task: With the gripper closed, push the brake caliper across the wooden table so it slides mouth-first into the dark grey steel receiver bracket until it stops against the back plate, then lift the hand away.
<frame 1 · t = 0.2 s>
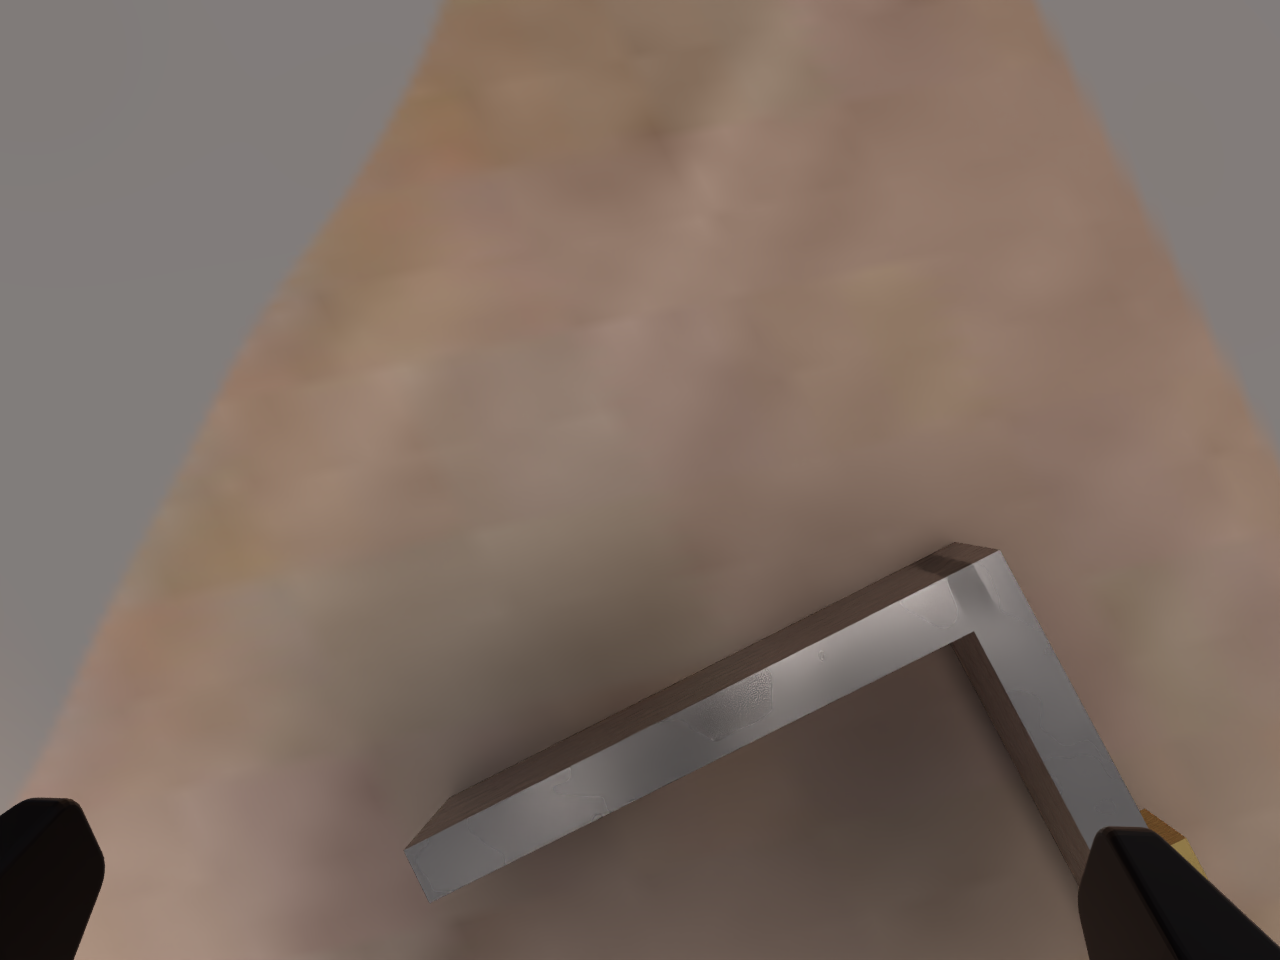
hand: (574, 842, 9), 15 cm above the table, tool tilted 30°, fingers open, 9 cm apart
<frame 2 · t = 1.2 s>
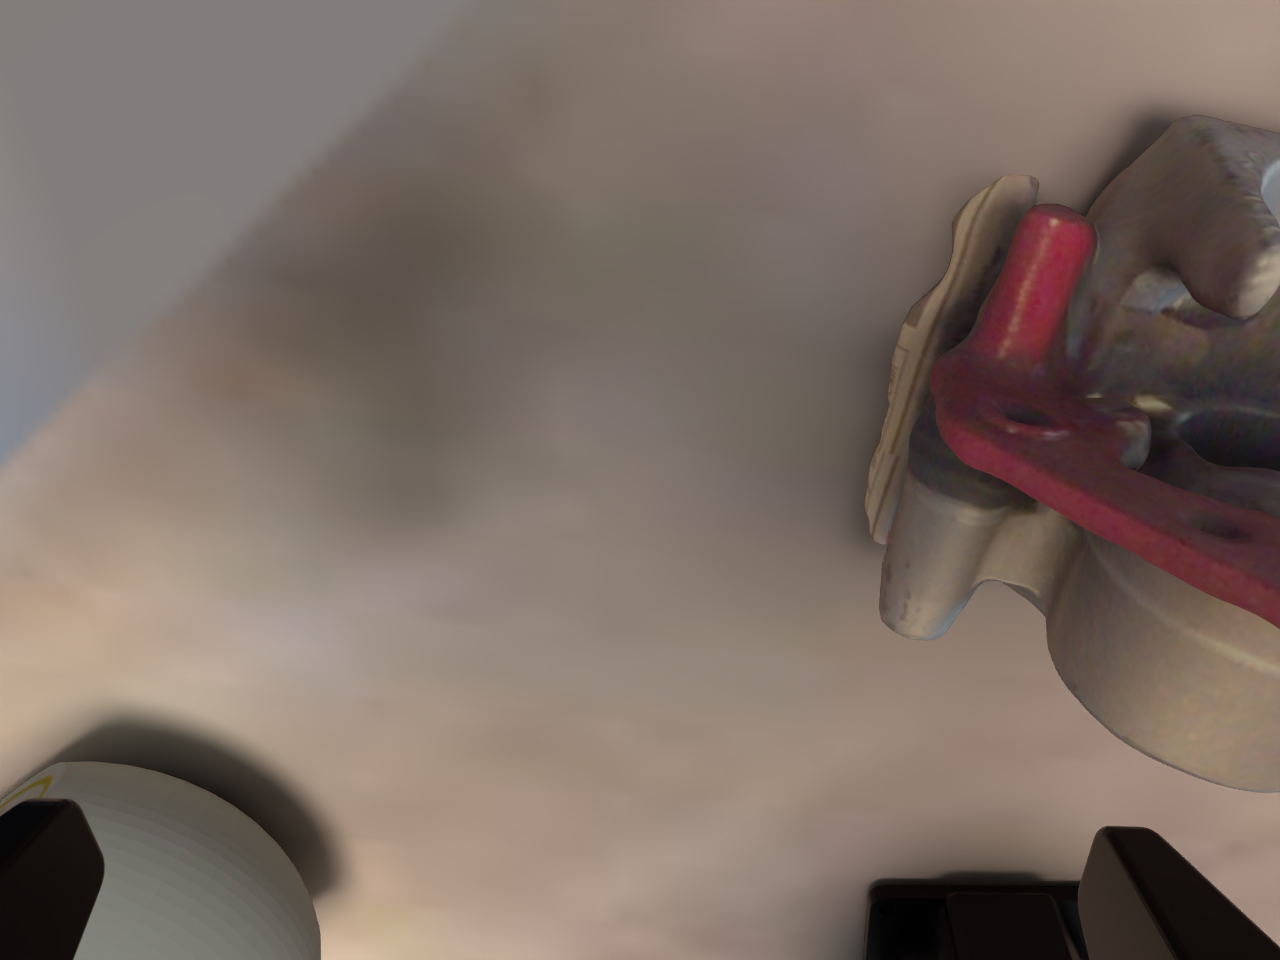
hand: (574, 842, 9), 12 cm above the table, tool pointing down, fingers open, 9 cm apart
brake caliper: (1162, 376, 19), on the table
air freshener: (166, 842, 28), on the table
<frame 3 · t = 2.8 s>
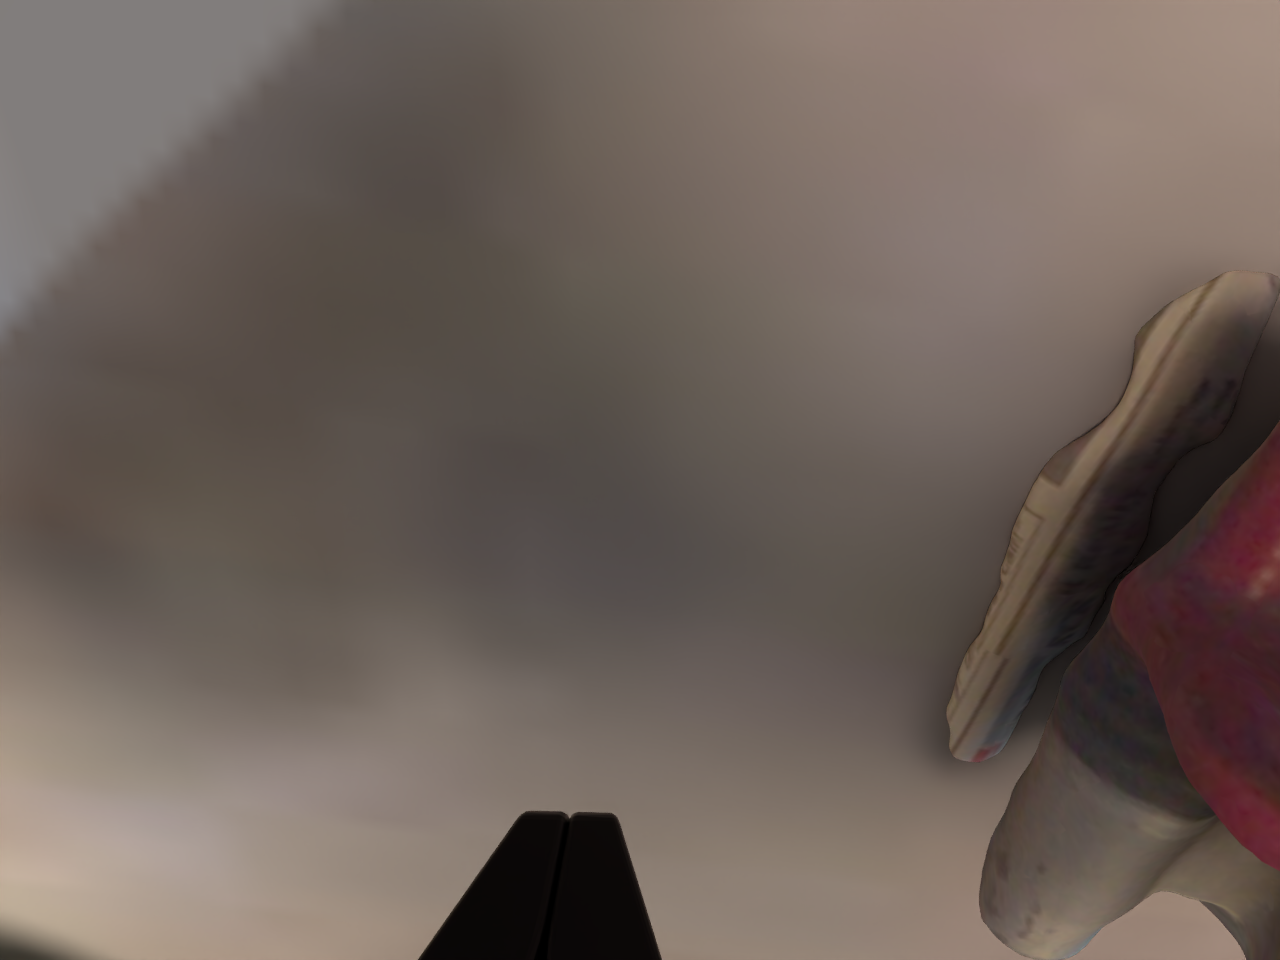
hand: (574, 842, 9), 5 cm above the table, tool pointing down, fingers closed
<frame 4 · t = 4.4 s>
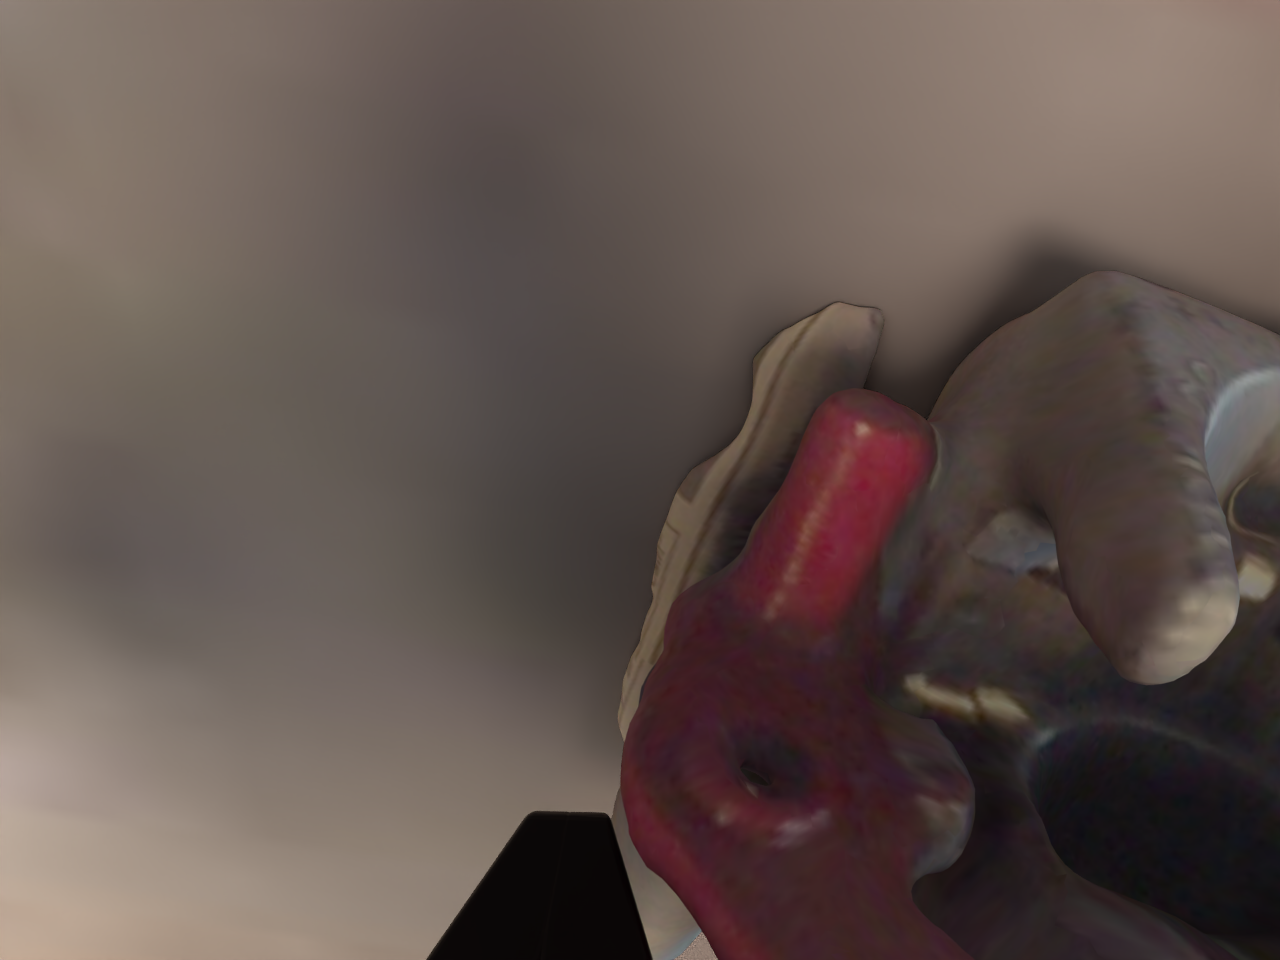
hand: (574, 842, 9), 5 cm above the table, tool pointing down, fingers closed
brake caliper: (1038, 602, 13), on the table, touching gripper
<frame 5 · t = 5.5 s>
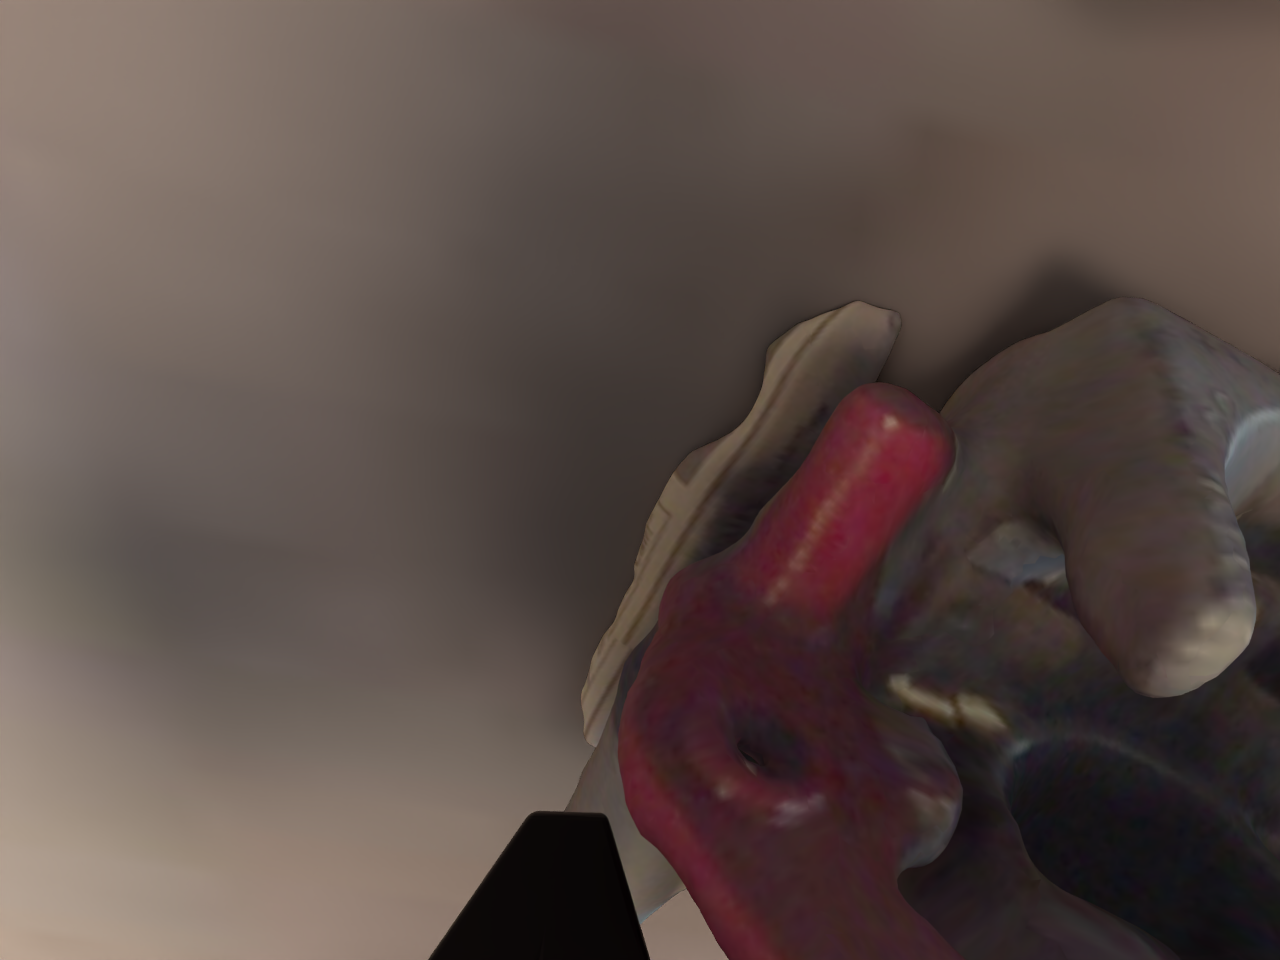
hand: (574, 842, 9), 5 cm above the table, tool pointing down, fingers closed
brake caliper: (1009, 620, 14), on the table, touching gripper
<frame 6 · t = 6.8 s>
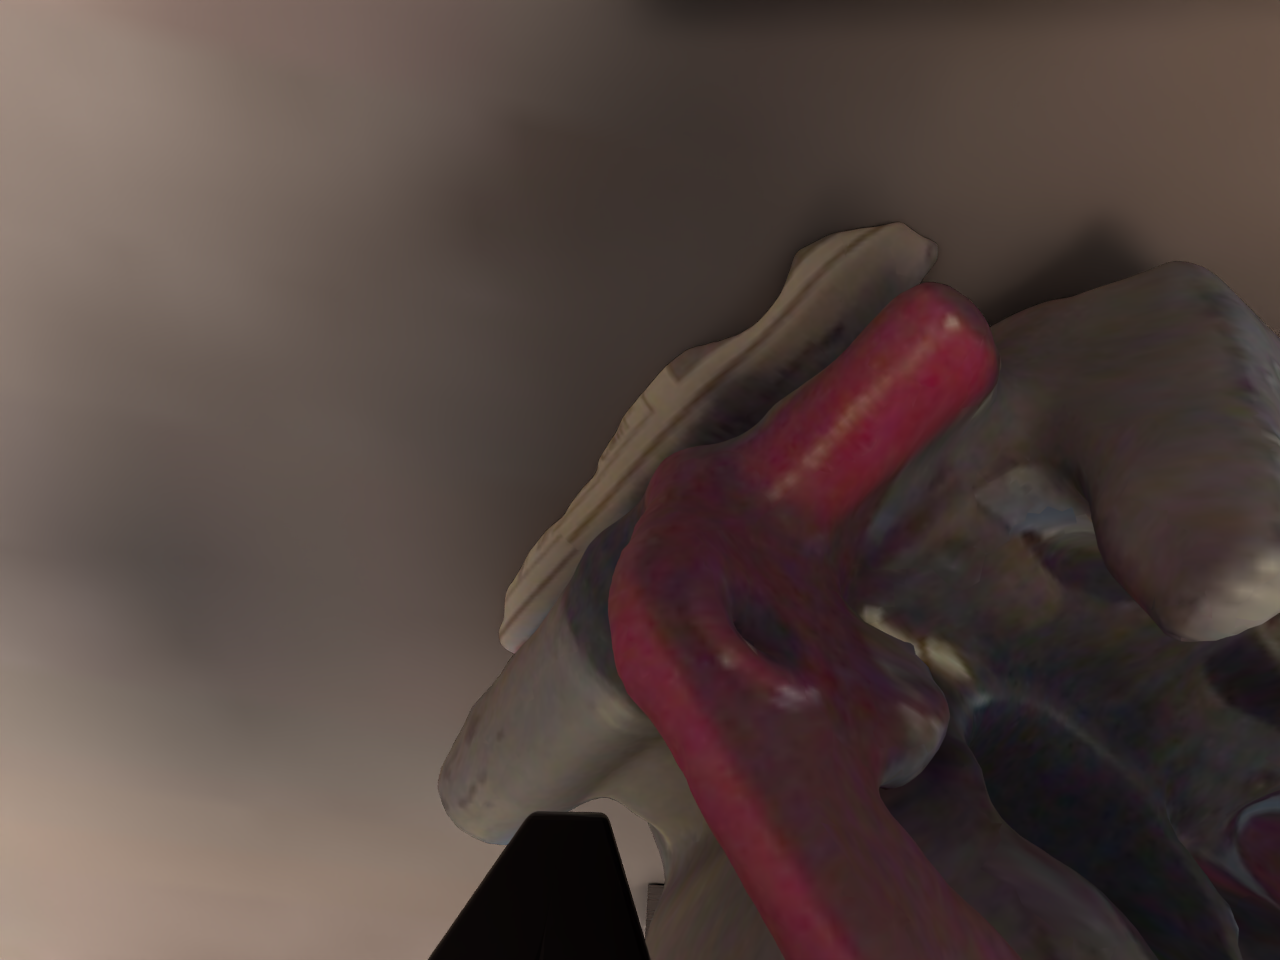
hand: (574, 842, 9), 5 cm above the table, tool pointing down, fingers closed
receiver: (1136, 552, 13), on the table
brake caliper: (956, 593, 13), on the table, touching gripper, receiver
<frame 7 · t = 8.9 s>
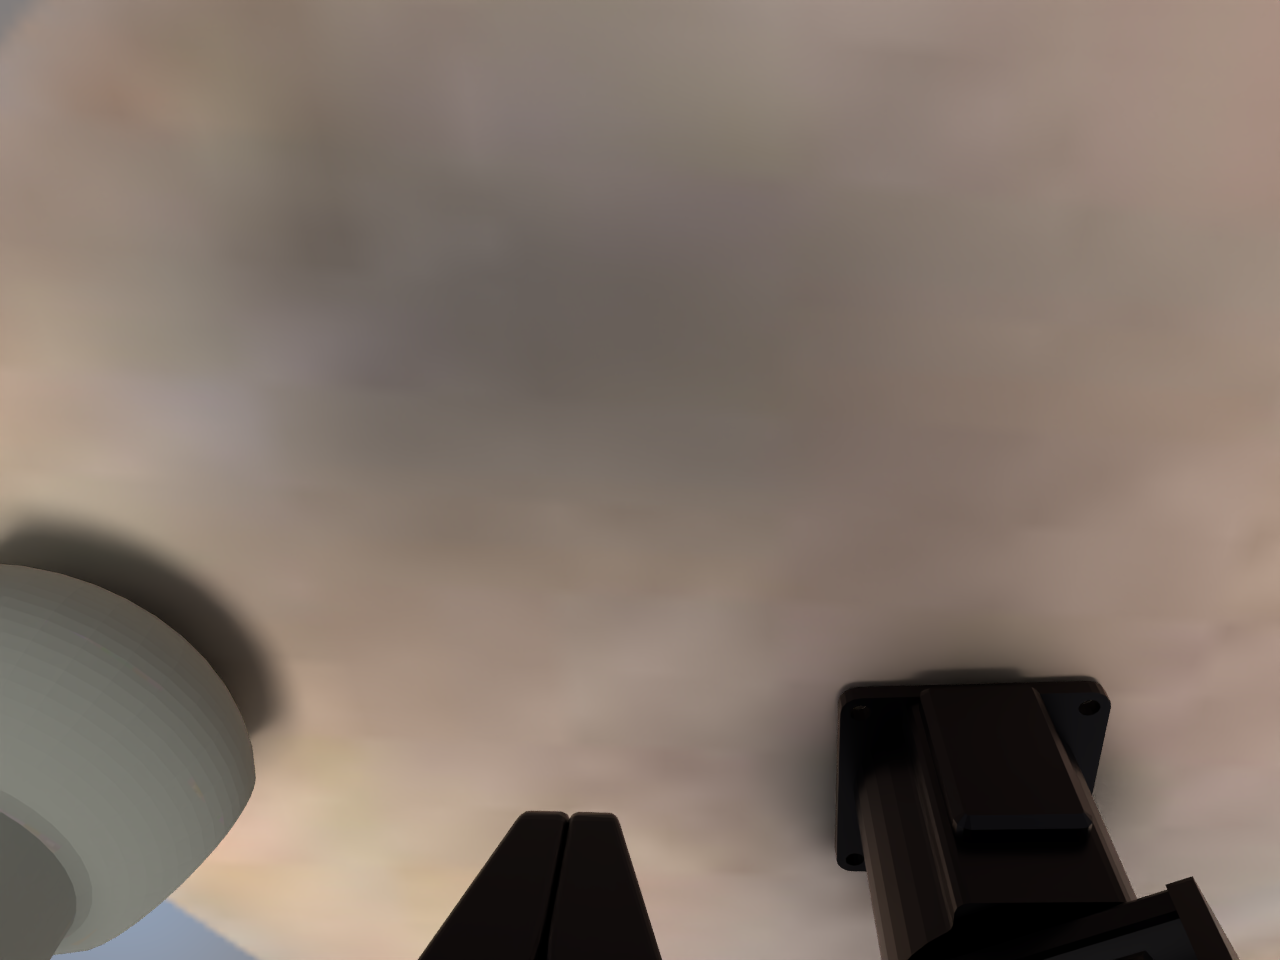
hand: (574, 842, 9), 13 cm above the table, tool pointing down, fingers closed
air freshener: (93, 674, 26), on the table
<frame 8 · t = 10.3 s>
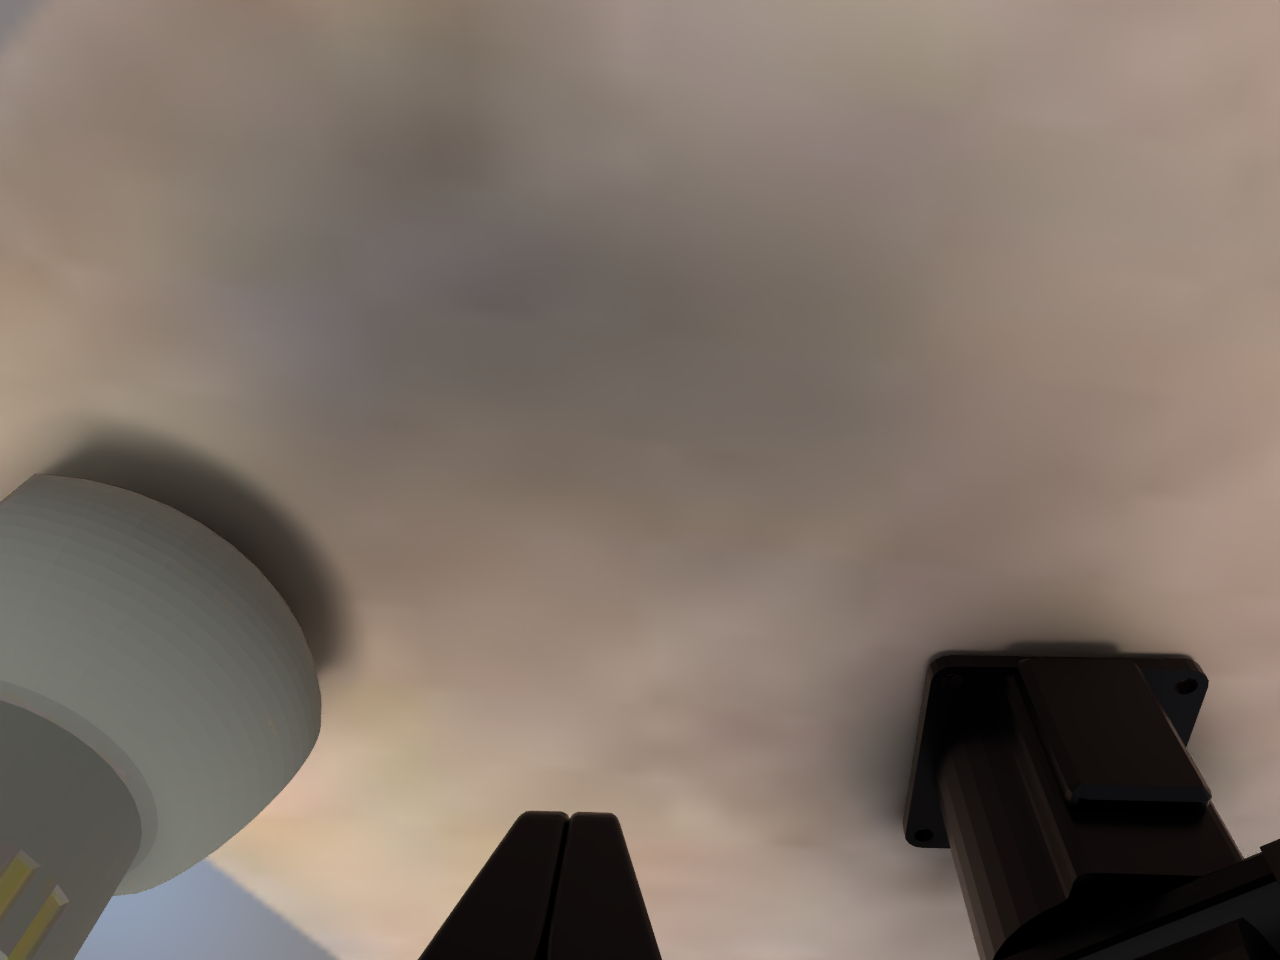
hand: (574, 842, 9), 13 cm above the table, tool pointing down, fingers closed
air freshener: (146, 606, 25), on the table
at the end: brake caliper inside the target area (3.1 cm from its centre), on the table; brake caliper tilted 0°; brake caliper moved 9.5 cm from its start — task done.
